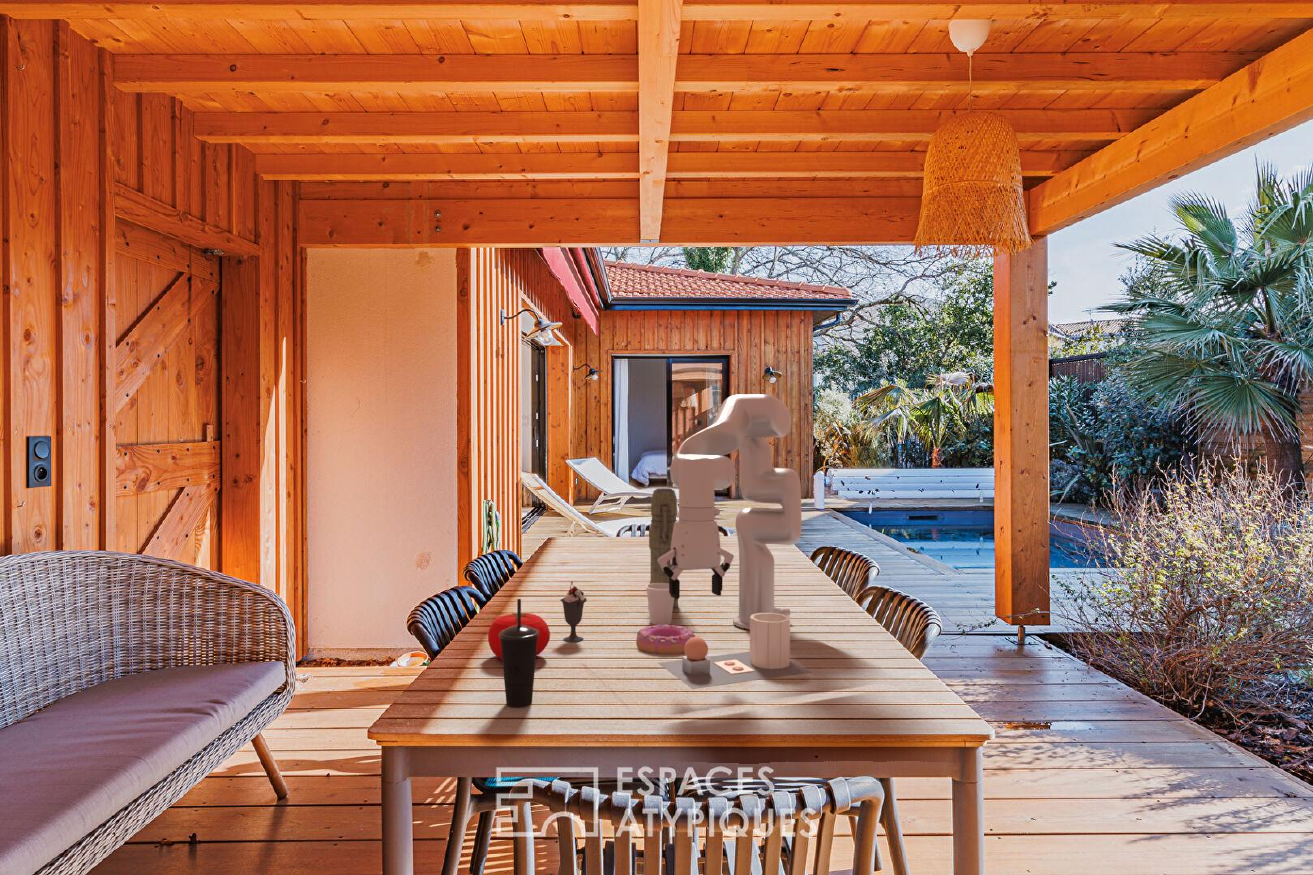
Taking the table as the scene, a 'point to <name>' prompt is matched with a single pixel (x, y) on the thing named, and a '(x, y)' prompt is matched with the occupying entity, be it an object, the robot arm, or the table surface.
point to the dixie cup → (659, 603)
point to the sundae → (573, 611)
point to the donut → (663, 638)
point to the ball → (696, 649)
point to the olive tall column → (662, 532)
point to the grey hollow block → (696, 666)
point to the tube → (770, 640)
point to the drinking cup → (519, 661)
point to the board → (730, 671)
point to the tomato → (511, 620)
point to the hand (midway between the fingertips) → (695, 595)
